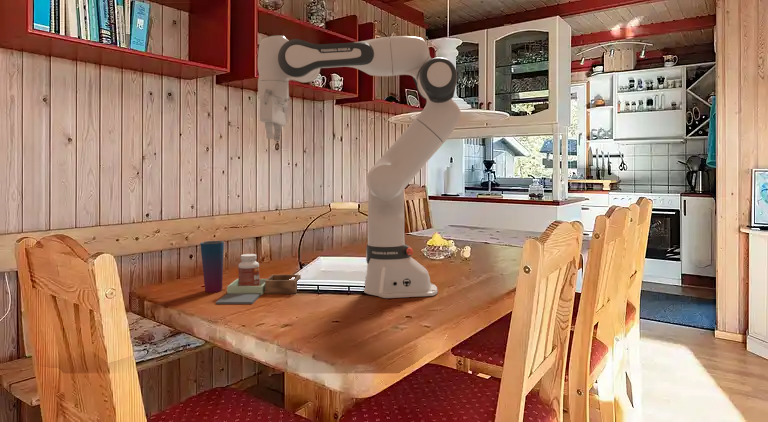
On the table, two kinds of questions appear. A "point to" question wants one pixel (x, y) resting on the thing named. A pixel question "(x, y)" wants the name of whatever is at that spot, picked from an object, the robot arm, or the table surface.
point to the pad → (239, 298)
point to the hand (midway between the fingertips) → (273, 139)
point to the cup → (212, 265)
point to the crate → (281, 284)
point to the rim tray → (246, 287)
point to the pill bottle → (249, 271)
